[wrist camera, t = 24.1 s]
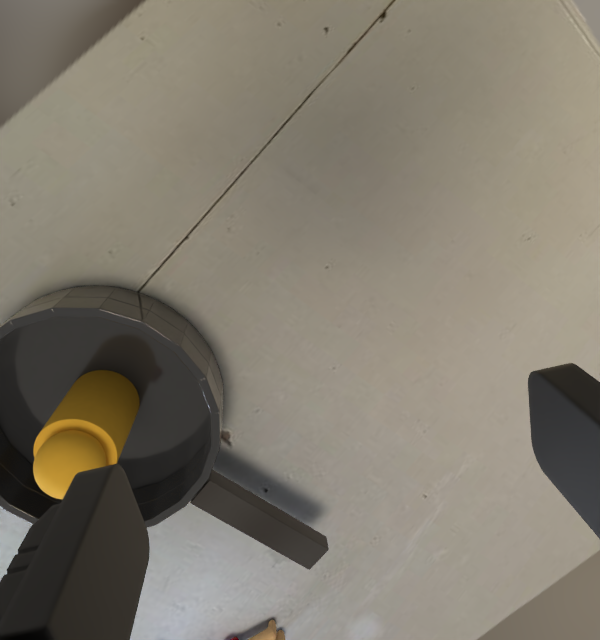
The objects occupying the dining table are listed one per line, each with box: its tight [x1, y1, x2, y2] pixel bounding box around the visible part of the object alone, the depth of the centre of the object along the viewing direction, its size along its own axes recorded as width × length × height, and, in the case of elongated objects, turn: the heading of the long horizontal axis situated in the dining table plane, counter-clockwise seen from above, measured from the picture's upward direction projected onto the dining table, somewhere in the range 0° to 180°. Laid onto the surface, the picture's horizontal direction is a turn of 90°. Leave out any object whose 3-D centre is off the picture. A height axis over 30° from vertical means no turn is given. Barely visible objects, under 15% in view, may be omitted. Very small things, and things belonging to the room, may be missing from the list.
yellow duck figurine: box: [33, 370, 139, 499], centre depth 35 cm, size 6×5×10 cm
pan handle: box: [191, 470, 328, 569], centre depth 40 cm, size 11×2×1 cm, turn 52°
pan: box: [0, 286, 224, 528], centre depth 38 cm, size 17×17×5 cm
